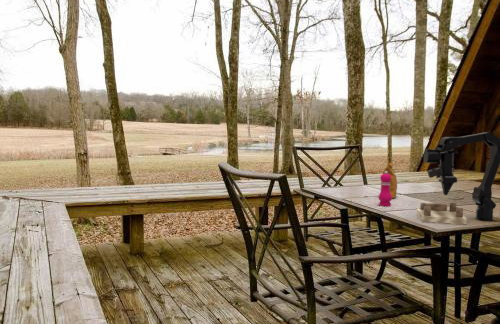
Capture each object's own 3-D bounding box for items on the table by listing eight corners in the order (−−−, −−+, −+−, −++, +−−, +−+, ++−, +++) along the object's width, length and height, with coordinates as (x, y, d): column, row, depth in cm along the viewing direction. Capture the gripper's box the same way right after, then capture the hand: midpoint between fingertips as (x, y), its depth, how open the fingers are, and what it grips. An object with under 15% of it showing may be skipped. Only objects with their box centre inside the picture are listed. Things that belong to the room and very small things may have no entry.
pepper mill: (388, 204, 244) (390, 170, 242) (393, 206, 237) (394, 171, 235) (376, 204, 244) (377, 170, 242) (380, 206, 236) (382, 171, 235)
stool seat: (456, 216, 212) (457, 202, 211) (466, 224, 194) (466, 209, 193) (416, 214, 217) (417, 200, 216) (422, 222, 198) (422, 207, 198)
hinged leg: (420, 209, 212) (421, 203, 212) (419, 208, 215) (420, 202, 215) (446, 210, 209) (447, 205, 209) (445, 209, 212) (445, 203, 212)
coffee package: (398, 196, 270) (400, 162, 268) (394, 199, 259) (395, 164, 257) (383, 195, 275) (384, 162, 273) (378, 198, 264) (379, 163, 262)
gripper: (425, 161, 214) (424, 191, 215) (432, 164, 196) (430, 197, 197) (449, 161, 211) (448, 192, 213) (458, 164, 193) (456, 198, 195)
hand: (445, 194), depth 204 cm, fingers closed
